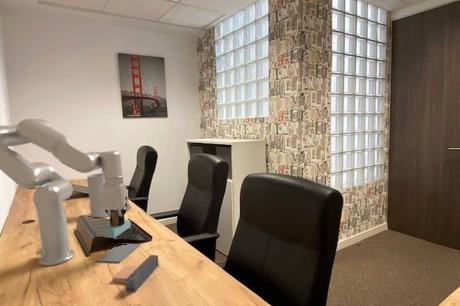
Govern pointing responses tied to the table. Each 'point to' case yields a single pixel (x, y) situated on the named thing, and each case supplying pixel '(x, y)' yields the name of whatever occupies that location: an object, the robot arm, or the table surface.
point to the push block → (116, 226)
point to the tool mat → (118, 253)
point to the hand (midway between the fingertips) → (117, 224)
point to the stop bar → (141, 273)
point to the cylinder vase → (95, 195)
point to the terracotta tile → (124, 274)
